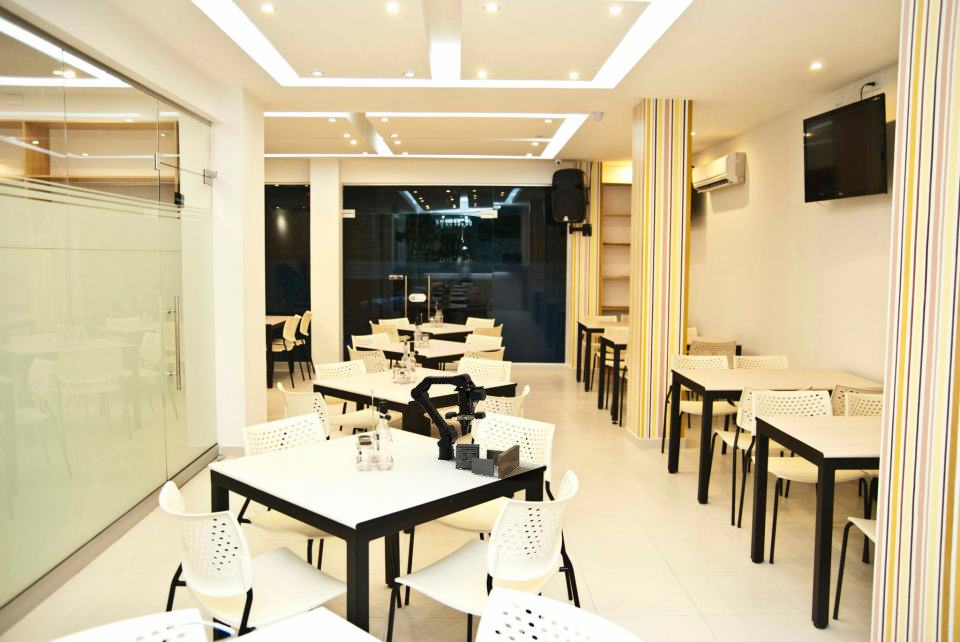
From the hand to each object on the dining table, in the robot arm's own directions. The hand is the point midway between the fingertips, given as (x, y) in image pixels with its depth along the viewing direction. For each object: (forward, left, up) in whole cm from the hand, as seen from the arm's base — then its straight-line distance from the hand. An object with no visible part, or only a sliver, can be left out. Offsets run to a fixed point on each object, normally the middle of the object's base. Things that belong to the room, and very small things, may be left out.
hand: (466, 433), depth 327 cm
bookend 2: (+16, -2, -13) cm, 21 cm away
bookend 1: (+16, -19, -13) cm, 28 cm away
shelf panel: (+25, -11, -13) cm, 30 cm away
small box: (+5, -11, -13) cm, 18 cm away
